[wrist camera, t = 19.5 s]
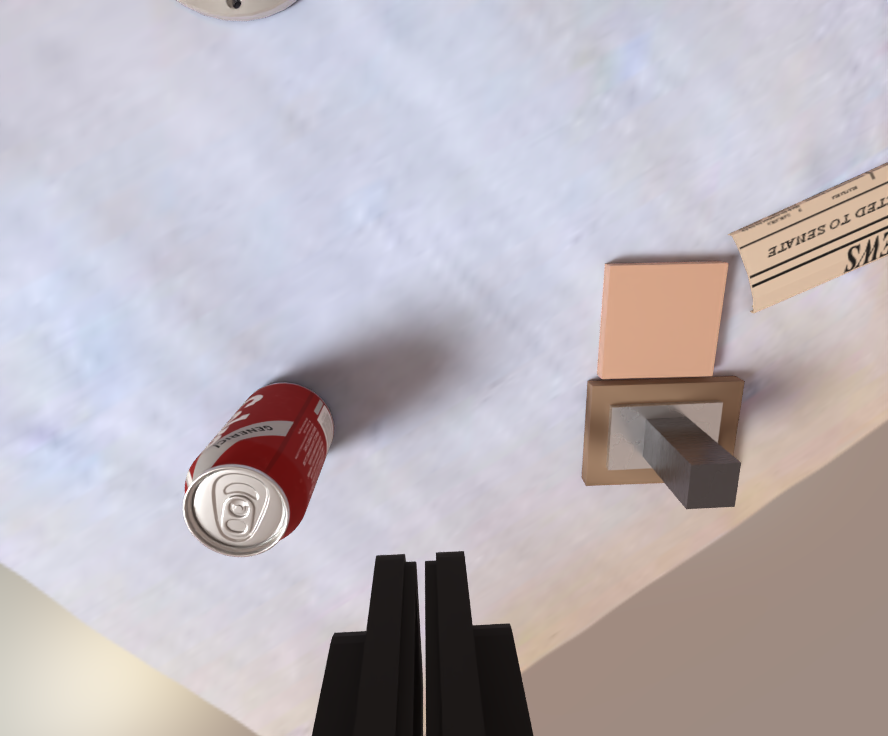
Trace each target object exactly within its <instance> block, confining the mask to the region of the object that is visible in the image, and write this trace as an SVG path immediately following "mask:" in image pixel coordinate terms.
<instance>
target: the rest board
mask: <svg viewBox="0 0 888 736" xmlns="http://www.w3.org/2000/svg"><path fill="white" fill-rule="evenodd" d="M744 382H745V381H743V380H741V379H740V378H738V377H736V376H721V377H691V378H660V379H629V380H599V381H588V384H587V400H586V416H585V432H584V449H583V465H582V479H583V481H584V483H585V485H586V486H594V485H621V484H647V483H664V482H663V480H662V479H661V478H660V477H659V476H658V474H657V473H656V472H655V471H654V470H653V468H646V469H626V470H608V469H607V468H606V460H607V444H608V428H609V412H610V405H622V404H644V403H666V402H687V401H709V400H720V401H722V402H723V407H722V414H721V422H720V430H719V437H718V444H719V445H721V446H722V447H723V448H724V449H725V450H727V451H728V452H729V453H730V454H731V455H732V456H733V452H734V446H735V440H736V433H737V427H738V420H739V414H740V407H741V401H742V395H743V388H744Z"/></svg>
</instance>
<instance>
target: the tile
mask: <svg viewBox="0 0 888 736" xmlns="http://www.w3.org/2000/svg"><path fill="white" fill-rule="evenodd" d="M727 270H728V263H726V262H721V261H704V262H659V263H614V264H605V270H604V284H603V298H602V312H601V326H600V339H599V353H598V367H597V375H598V376H599V377H600V378H601V379H623V378H661V377H698V376H713V369H714V362H715V355H716V348H717V341H718V334H719V327H720V320H721V313H722V306H723V299H724V292H725V285H726V277H727Z"/></svg>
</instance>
